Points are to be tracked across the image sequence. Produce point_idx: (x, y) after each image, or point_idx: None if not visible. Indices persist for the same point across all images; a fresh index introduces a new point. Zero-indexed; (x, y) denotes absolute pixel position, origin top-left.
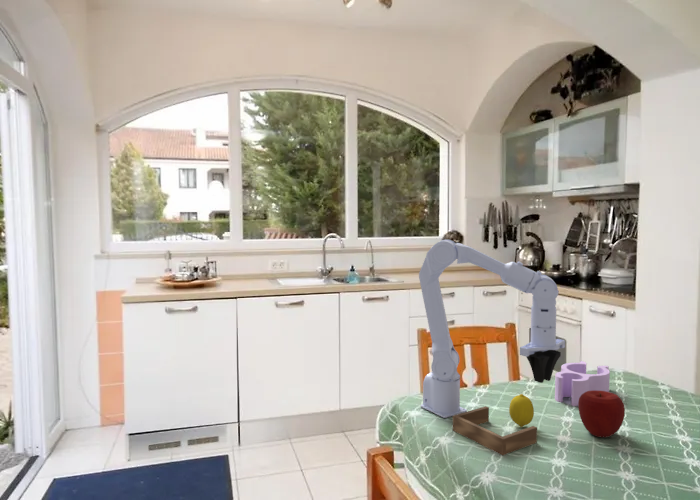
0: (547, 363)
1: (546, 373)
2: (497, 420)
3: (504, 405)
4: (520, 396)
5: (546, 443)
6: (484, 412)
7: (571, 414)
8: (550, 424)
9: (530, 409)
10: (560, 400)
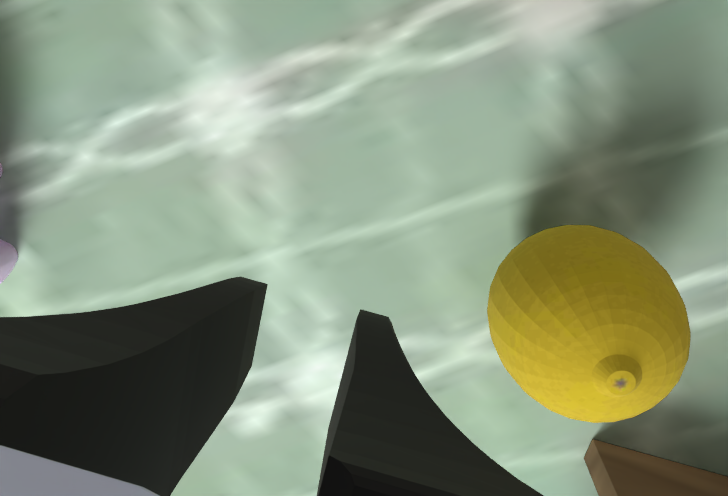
0: (159, 422)
1: (232, 347)
2: (542, 409)
3: (302, 460)
4: (642, 377)
5: (714, 48)
6: (650, 494)
7: (139, 117)
8: (389, 154)
9: (628, 250)
10: (3, 249)
